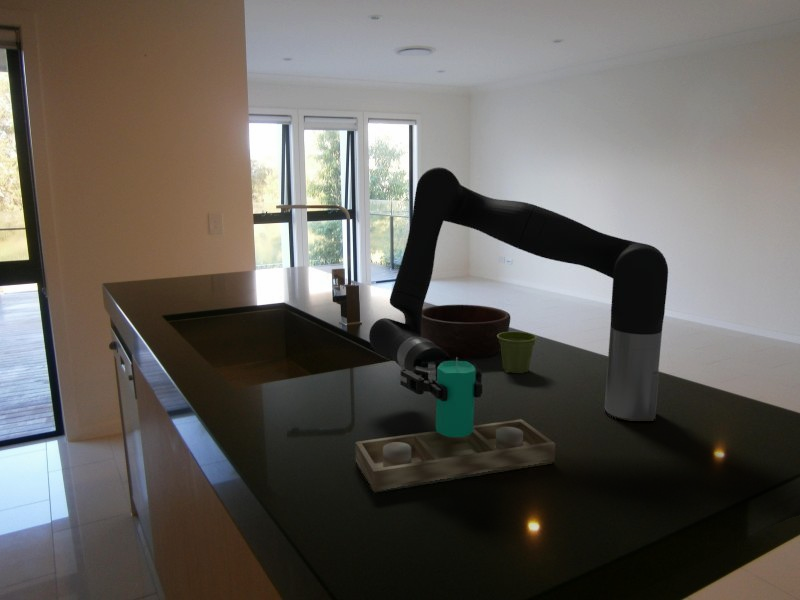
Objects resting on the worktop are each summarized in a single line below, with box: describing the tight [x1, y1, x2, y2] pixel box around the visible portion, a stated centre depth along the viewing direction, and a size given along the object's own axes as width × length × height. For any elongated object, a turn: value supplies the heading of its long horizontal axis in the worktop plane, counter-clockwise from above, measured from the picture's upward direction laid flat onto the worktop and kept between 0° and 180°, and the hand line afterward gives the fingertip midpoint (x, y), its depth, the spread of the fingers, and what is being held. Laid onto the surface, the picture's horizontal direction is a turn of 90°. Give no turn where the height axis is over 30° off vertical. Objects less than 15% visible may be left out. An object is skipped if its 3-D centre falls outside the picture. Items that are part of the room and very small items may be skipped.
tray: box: [354, 418, 556, 492], centre depth 95 cm, size 30×11×4 cm, turn 109°
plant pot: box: [497, 331, 538, 374], centre depth 143 cm, size 9×9×9 cm
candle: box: [435, 357, 476, 437], centre depth 93 cm, size 6×6×12 cm
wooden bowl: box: [421, 304, 511, 359], centre depth 161 cm, size 25×25×10 cm
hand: (462, 393), depth 90 cm, fingers closed on candle, 5 cm apart
